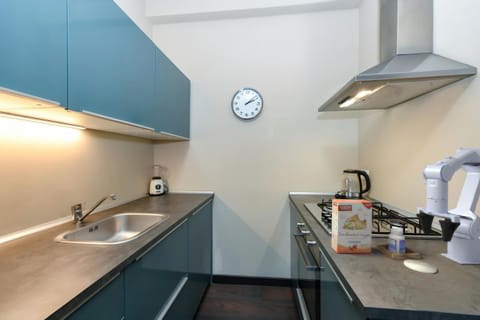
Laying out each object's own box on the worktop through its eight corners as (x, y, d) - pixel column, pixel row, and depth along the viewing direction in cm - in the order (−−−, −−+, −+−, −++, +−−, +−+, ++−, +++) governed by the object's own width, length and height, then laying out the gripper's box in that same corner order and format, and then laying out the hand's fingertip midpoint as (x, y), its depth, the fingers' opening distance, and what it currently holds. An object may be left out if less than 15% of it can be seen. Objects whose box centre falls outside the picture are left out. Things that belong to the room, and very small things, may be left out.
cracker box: (337, 254, 89) (337, 201, 89) (331, 248, 95) (331, 198, 95) (372, 254, 89) (372, 201, 89) (363, 248, 95) (364, 198, 95)
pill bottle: (402, 252, 91) (403, 228, 91) (406, 257, 86) (406, 232, 86) (387, 250, 93) (387, 226, 93) (389, 255, 88) (390, 230, 88)
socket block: (399, 248, 95) (399, 243, 95) (420, 259, 84) (420, 254, 84) (375, 248, 94) (375, 243, 94) (393, 259, 84) (393, 254, 84)
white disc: (421, 261, 83) (421, 259, 83) (444, 273, 74) (444, 271, 74) (397, 261, 83) (397, 259, 83) (417, 273, 74) (417, 271, 74)
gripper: (409, 195, 86) (409, 230, 86) (445, 202, 71) (444, 245, 71) (427, 195, 86) (427, 230, 86) (466, 202, 71) (466, 245, 71)
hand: (436, 237), depth 78 cm, fingers open, 7 cm apart
